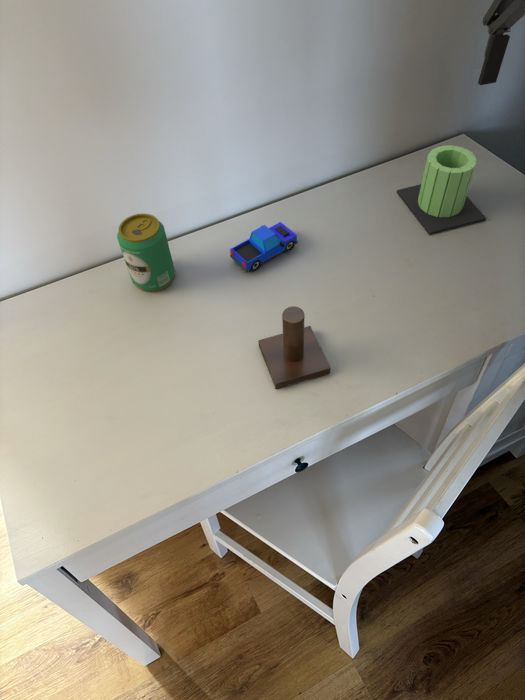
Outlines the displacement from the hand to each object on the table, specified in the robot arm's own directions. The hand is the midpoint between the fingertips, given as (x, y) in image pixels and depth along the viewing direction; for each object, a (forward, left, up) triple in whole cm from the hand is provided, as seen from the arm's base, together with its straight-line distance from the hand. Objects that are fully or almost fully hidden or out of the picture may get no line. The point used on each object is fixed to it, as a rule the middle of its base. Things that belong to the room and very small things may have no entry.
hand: (513, 102), depth 78 cm
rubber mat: (+12, -1, -27) cm, 30 cm away
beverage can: (+12, +57, -28) cm, 64 cm away
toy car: (+11, +36, -28) cm, 46 cm away
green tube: (+12, -1, -27) cm, 29 cm away
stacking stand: (-14, +39, -27) cm, 50 cm away
